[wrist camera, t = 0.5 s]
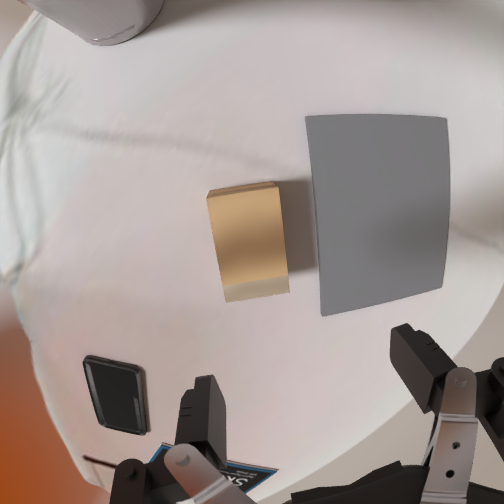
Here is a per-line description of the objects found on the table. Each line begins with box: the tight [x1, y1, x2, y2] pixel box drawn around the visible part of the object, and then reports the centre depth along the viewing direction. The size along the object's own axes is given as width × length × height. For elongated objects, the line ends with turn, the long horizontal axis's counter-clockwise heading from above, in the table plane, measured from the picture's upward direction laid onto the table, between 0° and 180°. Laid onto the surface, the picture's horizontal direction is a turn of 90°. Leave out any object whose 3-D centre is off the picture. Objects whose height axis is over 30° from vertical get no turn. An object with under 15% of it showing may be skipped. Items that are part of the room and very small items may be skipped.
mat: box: [305, 114, 450, 317], centre depth 27 cm, size 20×16×1 cm
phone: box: [83, 355, 147, 436], centre depth 34 cm, size 8×1×15 cm
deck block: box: [206, 181, 290, 302], centre depth 26 cm, size 9×6×4 cm, turn 8°
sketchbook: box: [147, 442, 277, 504], centre depth 44 cm, size 22×30×2 cm
